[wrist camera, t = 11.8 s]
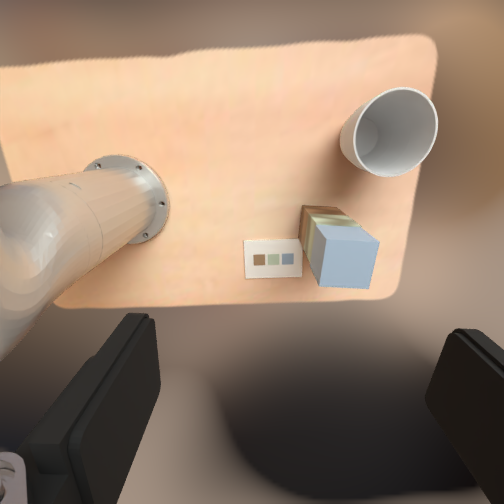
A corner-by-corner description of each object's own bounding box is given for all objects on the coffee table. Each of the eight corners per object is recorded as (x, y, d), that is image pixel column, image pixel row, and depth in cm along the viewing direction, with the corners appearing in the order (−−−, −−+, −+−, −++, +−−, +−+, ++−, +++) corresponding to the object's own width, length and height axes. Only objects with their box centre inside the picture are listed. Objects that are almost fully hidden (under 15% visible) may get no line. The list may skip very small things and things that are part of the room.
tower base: (298, 238, 41) (310, 265, 32) (302, 205, 39) (316, 223, 30) (331, 239, 41) (353, 267, 32) (336, 207, 39) (361, 226, 30)
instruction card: (245, 278, 44) (245, 278, 44) (243, 240, 41) (243, 241, 41) (301, 276, 44) (302, 277, 43) (302, 238, 41) (303, 239, 41)
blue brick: (315, 224, 30) (326, 239, 26) (360, 227, 30) (379, 242, 26) (309, 265, 32) (319, 286, 27) (352, 268, 32) (368, 288, 27)
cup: (341, 179, 38) (368, 190, 29) (318, 123, 35) (341, 115, 26) (398, 151, 37) (446, 153, 27) (379, 90, 34) (425, 69, 25)
